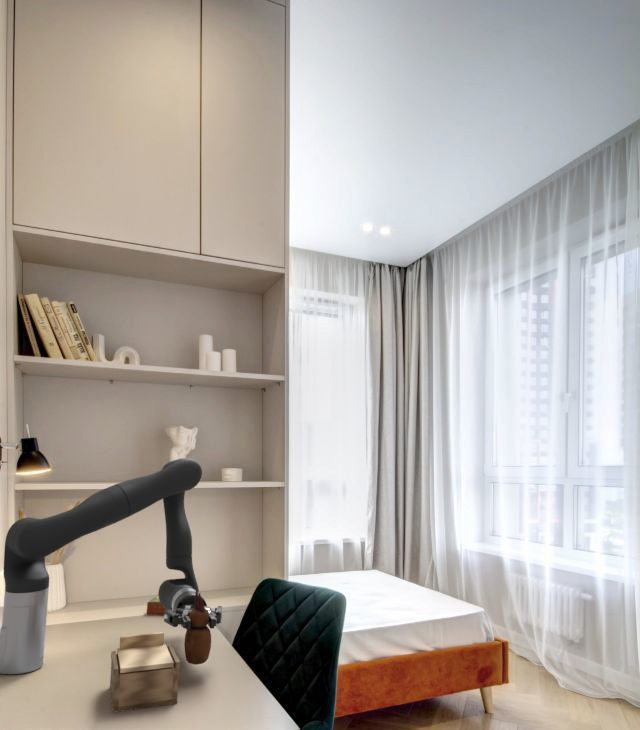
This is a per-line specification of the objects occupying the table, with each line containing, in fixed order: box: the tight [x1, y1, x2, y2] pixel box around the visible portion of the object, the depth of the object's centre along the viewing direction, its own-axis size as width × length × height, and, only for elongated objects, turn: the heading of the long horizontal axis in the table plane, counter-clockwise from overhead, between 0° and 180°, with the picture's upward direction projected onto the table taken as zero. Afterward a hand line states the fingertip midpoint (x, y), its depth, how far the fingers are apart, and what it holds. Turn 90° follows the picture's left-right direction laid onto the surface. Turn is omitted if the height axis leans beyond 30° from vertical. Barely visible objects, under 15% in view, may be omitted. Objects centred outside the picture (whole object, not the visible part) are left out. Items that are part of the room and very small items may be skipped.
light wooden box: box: [109, 644, 181, 713], centre depth 121 cm, size 12×13×8 cm
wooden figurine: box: [183, 590, 212, 665], centre depth 133 cm, size 7×6×15 cm
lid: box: [116, 631, 174, 673], centre depth 122 cm, size 10×13×3 cm
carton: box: [146, 594, 172, 616], centre depth 190 cm, size 8×16×4 cm, turn 176°
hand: (201, 624), depth 130 cm, fingers closed on wooden figurine, 4 cm apart
